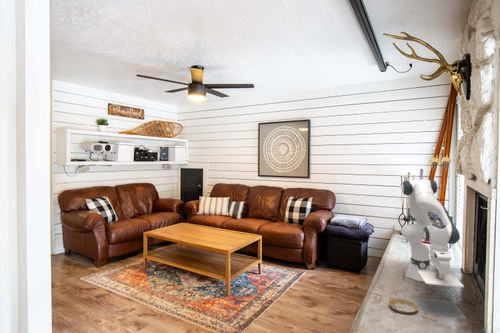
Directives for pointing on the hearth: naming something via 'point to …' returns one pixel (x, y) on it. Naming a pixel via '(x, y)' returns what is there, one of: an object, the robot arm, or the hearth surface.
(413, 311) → the plant saucer
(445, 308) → the charcoal mat
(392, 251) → the hearth surface
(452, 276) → the cover sheet
